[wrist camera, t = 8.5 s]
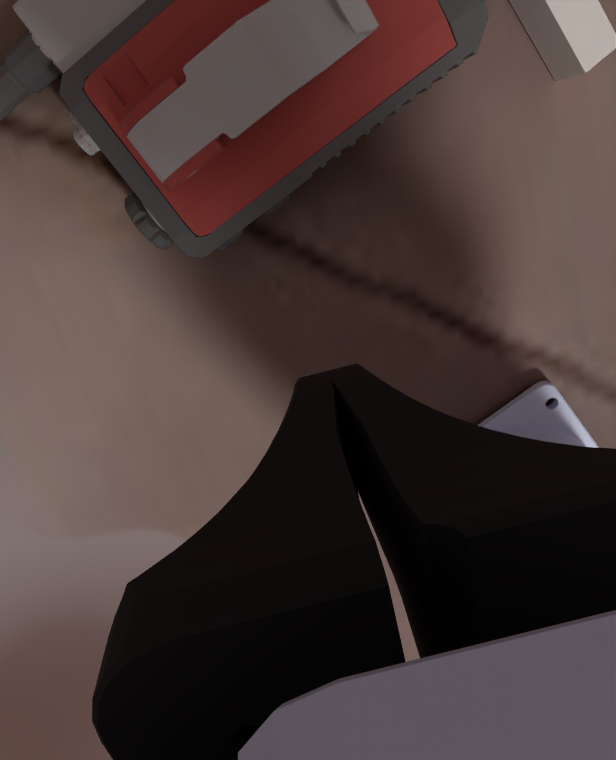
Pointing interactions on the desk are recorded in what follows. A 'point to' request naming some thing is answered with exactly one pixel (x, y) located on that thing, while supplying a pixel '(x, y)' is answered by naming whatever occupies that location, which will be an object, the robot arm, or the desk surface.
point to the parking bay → (567, 33)
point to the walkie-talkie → (229, 93)
